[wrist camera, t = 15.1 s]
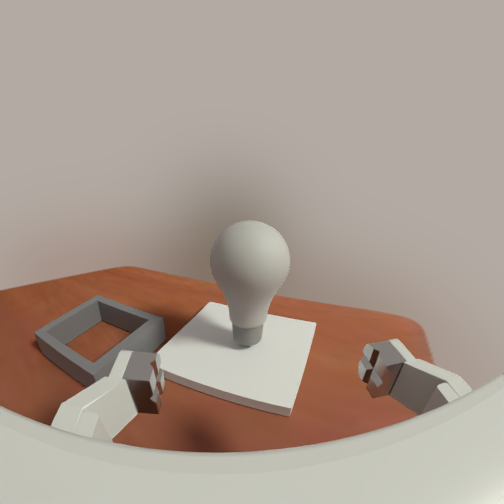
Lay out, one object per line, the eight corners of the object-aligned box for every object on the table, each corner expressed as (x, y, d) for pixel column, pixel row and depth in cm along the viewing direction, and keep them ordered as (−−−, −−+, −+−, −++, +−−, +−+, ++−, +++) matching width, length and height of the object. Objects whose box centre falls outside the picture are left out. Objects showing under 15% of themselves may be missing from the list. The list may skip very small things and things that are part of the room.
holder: (42, 353, 19) (33, 332, 19) (102, 314, 28) (98, 294, 27) (102, 397, 17) (93, 375, 16) (166, 339, 25) (163, 317, 24)
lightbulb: (294, 342, 24) (308, 222, 21) (250, 376, 20) (256, 236, 16) (244, 318, 28) (247, 211, 24) (198, 343, 23) (192, 220, 20)
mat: (148, 371, 20) (146, 362, 20) (210, 309, 31) (210, 301, 31) (289, 416, 17) (291, 408, 17) (314, 330, 28) (316, 323, 27)
